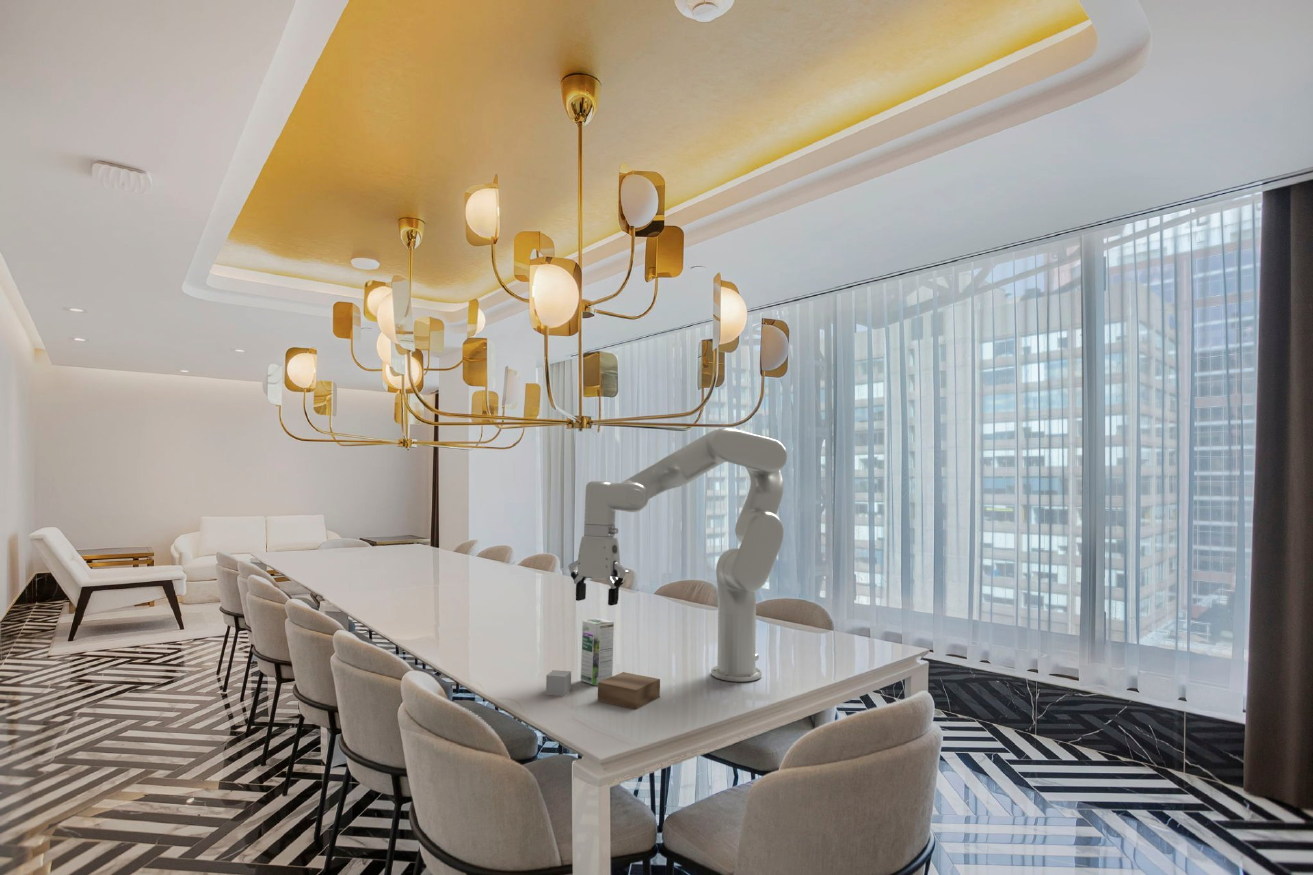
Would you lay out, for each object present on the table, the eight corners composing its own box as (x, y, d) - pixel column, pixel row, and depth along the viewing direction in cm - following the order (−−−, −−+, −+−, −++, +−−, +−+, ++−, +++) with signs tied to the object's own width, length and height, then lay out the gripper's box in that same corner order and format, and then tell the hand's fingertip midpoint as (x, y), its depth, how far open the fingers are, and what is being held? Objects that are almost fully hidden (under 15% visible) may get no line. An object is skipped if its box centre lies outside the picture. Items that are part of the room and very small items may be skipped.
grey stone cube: (552, 689, 161) (553, 670, 161) (570, 690, 160) (571, 671, 160) (546, 695, 156) (546, 675, 157) (564, 696, 155) (564, 676, 156)
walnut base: (622, 689, 161) (623, 672, 161) (659, 697, 156) (659, 679, 156) (597, 701, 152) (597, 682, 153) (635, 709, 147) (636, 690, 147)
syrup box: (579, 681, 167) (581, 620, 168) (598, 676, 171) (599, 617, 172) (594, 686, 163) (596, 624, 164) (613, 681, 167) (614, 620, 168)
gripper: (637, 533, 168) (634, 604, 167) (580, 528, 177) (577, 596, 176) (619, 534, 162) (617, 608, 161) (561, 530, 171) (558, 600, 170)
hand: (596, 602), depth 168 cm, fingers open, 9 cm apart
